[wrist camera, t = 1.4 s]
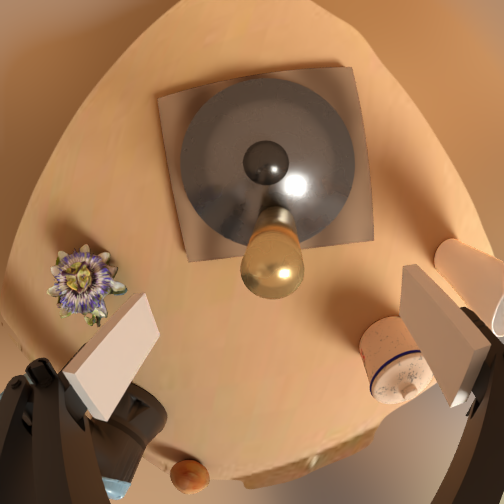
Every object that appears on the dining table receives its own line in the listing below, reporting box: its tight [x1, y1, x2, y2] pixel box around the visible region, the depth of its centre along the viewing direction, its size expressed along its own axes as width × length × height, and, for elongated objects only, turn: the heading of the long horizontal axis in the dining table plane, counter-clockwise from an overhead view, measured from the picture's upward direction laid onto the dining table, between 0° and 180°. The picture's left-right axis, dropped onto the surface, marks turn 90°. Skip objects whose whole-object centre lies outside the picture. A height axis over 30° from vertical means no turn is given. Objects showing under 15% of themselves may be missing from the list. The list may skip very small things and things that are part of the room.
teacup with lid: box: [359, 316, 433, 404], centre depth 30 cm, size 12×9×12 cm
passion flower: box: [47, 244, 127, 327], centre depth 34 cm, size 11×11×12 cm
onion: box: [170, 460, 210, 494], centre depth 49 cm, size 10×10×10 cm
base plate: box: [158, 67, 374, 262], centre depth 29 cm, size 22×20×2 cm
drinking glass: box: [434, 238, 504, 337], centre depth 24 cm, size 7×7×15 cm
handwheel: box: [180, 78, 355, 299], centre depth 22 cm, size 18×18×13 cm
